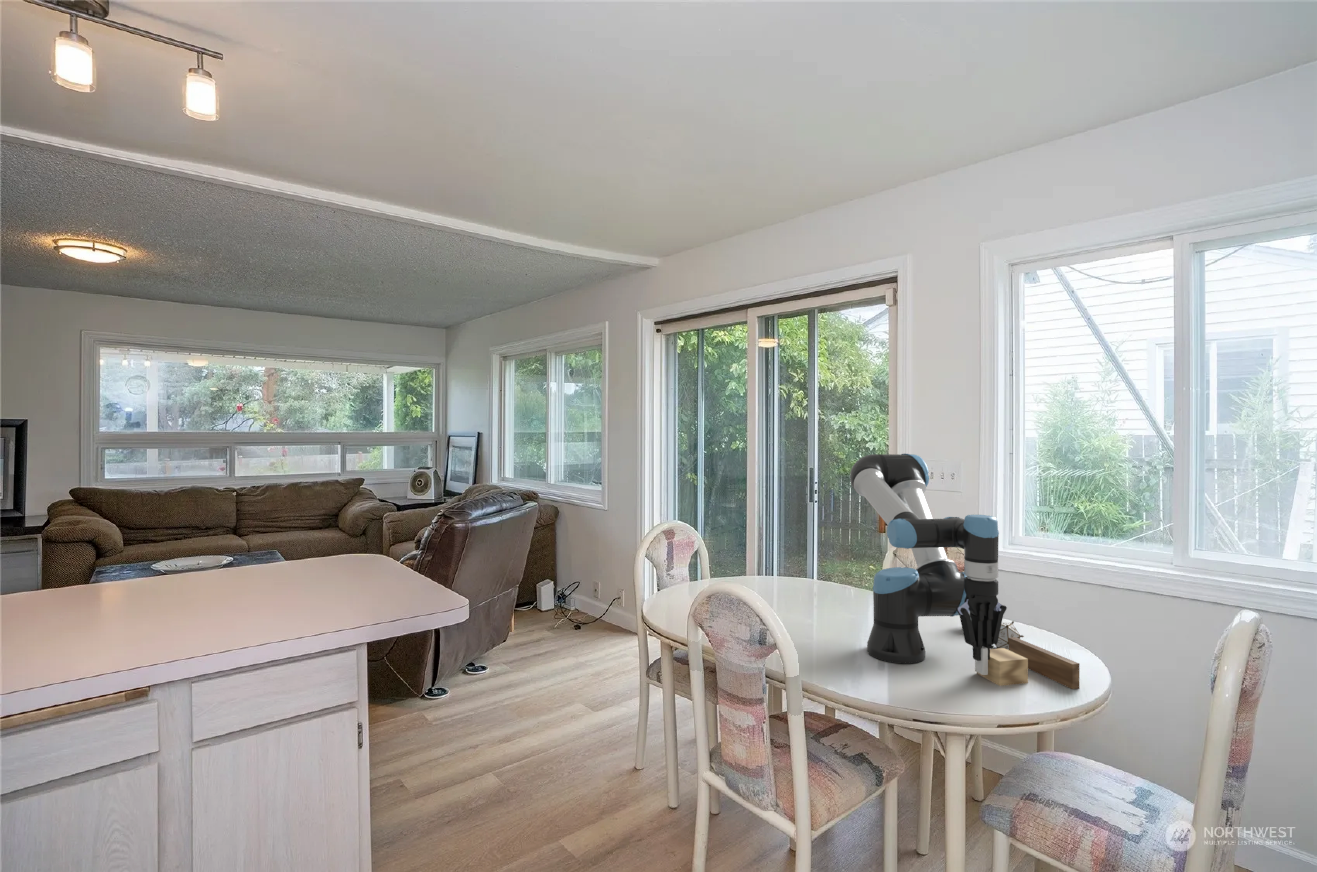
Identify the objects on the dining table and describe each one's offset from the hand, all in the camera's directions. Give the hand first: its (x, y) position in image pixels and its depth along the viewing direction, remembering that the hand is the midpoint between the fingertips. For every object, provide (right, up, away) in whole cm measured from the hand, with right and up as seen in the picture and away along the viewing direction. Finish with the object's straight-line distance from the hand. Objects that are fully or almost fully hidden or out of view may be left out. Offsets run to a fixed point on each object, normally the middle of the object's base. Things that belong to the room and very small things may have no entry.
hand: (981, 672), depth 157 cm
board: (+18, -2, +4) cm, 18 cm away
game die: (+18, -2, +22) cm, 28 cm away
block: (+6, -2, +1) cm, 6 cm away
